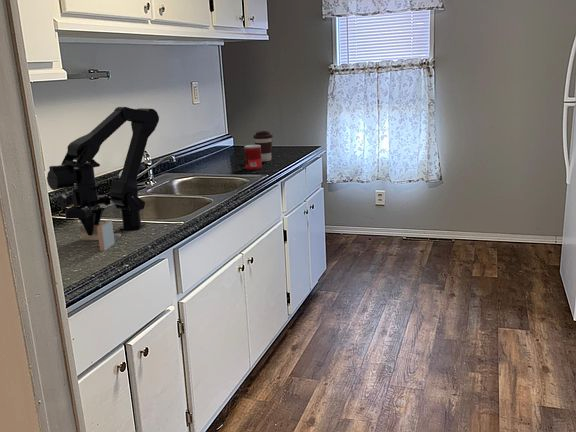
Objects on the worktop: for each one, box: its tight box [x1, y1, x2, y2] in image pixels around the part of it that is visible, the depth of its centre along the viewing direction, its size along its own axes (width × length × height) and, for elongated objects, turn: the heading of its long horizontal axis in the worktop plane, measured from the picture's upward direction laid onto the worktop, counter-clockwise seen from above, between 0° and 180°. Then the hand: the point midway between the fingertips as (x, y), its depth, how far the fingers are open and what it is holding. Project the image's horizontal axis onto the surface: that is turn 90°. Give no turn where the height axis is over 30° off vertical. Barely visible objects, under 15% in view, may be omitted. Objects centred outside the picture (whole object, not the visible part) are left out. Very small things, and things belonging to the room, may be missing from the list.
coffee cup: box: [252, 130, 273, 163], centre depth 303 cm, size 10×10×15 cm
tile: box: [97, 219, 116, 252], centre depth 169 cm, size 7×2×7 cm, turn 174°
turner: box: [79, 224, 122, 242], centre depth 177 cm, size 5×11×4 cm, turn 84°
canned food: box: [243, 144, 263, 171], centre depth 283 cm, size 8×8×11 cm
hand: (92, 233), depth 178 cm, fingers closed on turner, 3 cm apart
